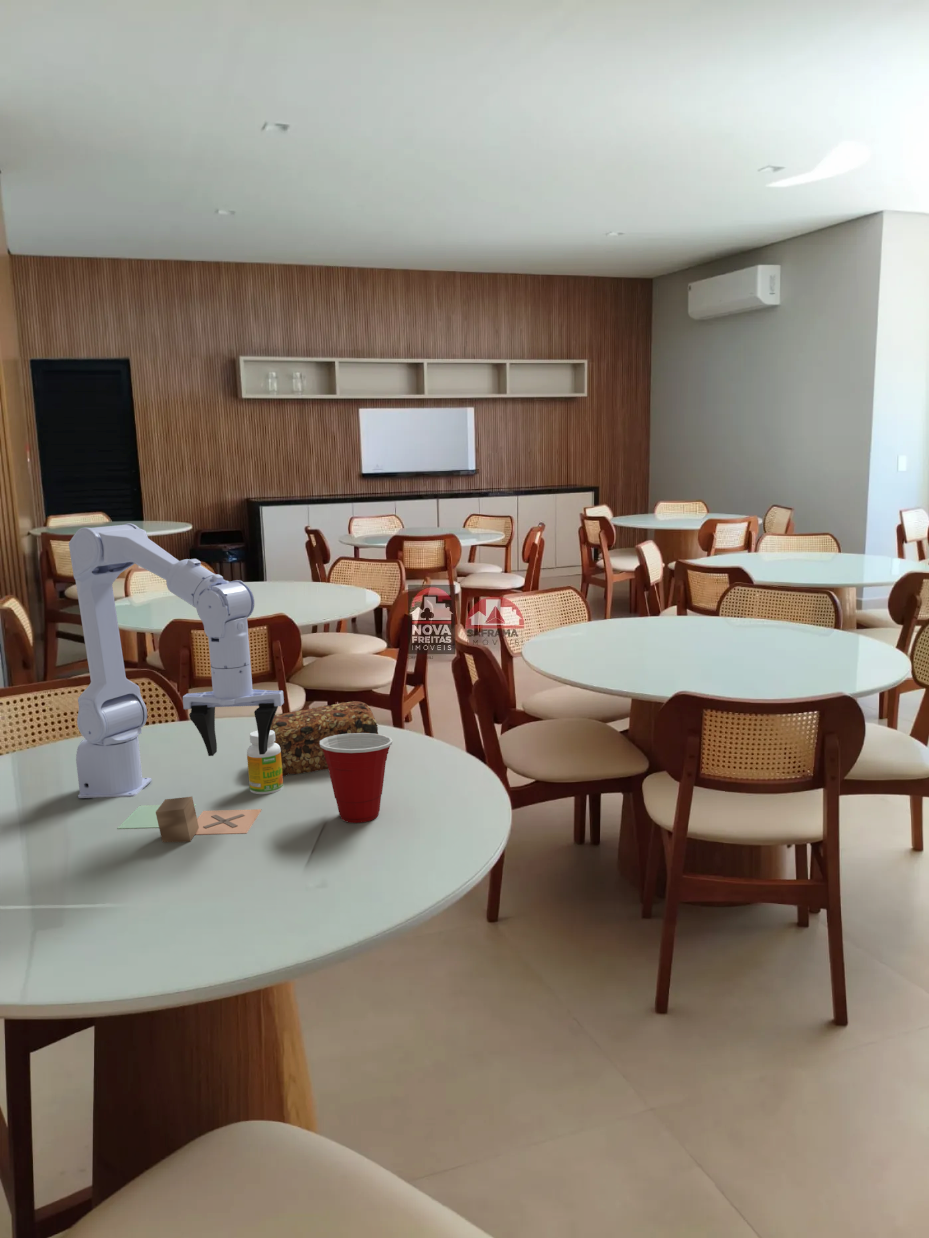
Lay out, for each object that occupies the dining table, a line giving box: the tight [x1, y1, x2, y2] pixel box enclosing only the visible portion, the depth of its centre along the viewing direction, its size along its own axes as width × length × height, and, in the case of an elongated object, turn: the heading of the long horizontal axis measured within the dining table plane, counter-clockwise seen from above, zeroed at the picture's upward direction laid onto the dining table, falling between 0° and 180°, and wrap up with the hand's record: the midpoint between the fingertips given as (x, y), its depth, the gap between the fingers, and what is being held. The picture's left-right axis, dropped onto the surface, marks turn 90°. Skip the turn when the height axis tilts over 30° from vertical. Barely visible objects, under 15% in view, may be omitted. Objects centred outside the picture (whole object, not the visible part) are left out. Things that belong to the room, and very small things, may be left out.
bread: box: [270, 700, 379, 777], centre depth 162 cm, size 19×11×10 cm, turn 109°
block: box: [156, 796, 199, 843], centre depth 130 cm, size 4×4×5 cm
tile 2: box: [194, 808, 263, 836], centre depth 136 cm, size 9×9×1 cm
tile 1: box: [116, 803, 197, 830], centre depth 139 cm, size 9×9×1 cm
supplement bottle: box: [246, 729, 284, 795], centre depth 148 cm, size 5×5×10 cm
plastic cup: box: [320, 733, 393, 824], centre depth 136 cm, size 11×11×12 cm
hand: (238, 753), depth 137 cm, fingers open, 7 cm apart
